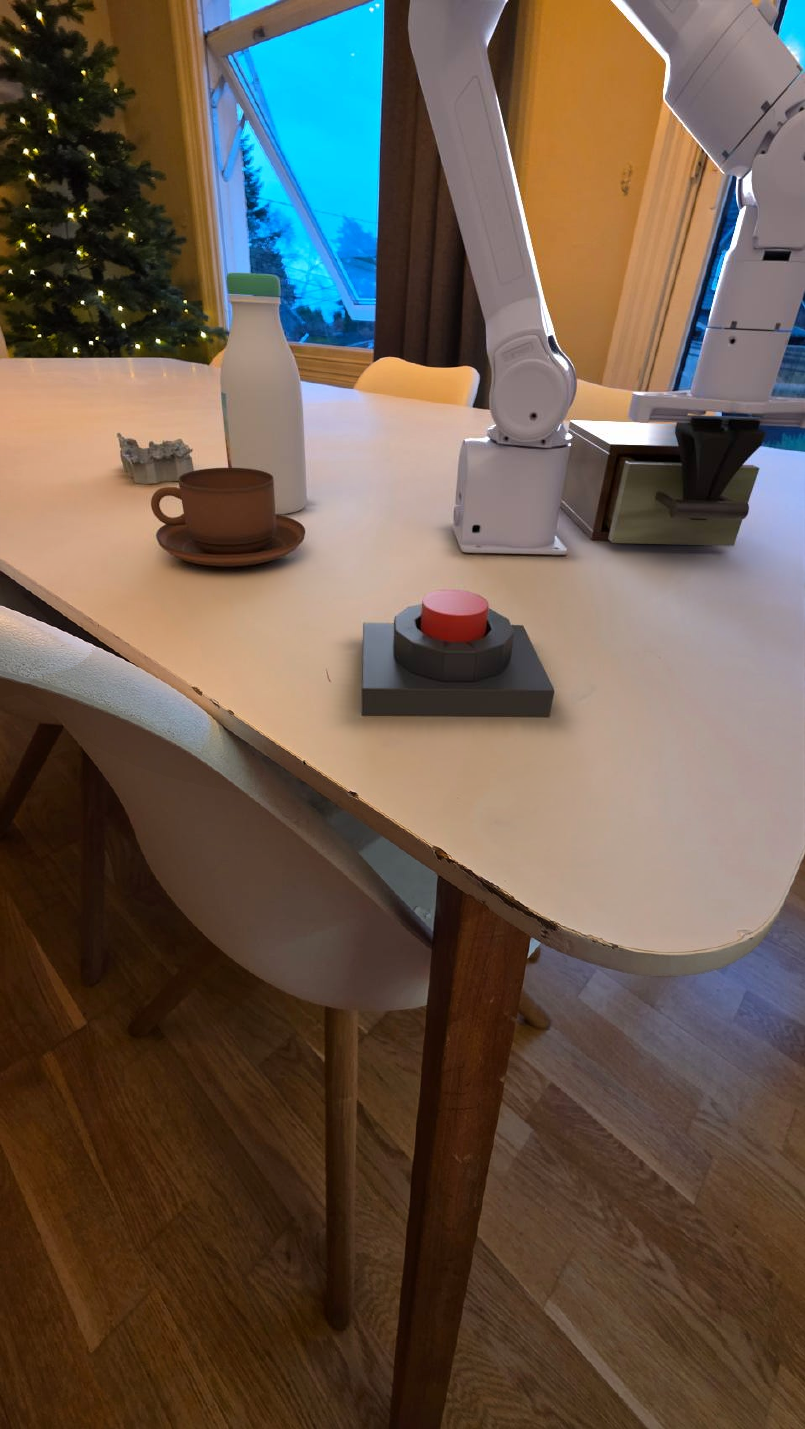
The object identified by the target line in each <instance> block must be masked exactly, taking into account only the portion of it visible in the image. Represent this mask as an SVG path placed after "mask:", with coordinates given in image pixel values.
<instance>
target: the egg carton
mask: <svg viewBox="0 0 805 1429" xmlns="http://www.w3.org/2000/svg"><path fill="white" fill-rule="evenodd" d="M116 437H117V438H118V443H119V448H120V450H119V454H120V460H121V464H122V467H123V470H124V471H125V472H127V474H128V476H130V477H131V478H133V480H134V484H144V485H150V484H151V485H152V484H154V485H155V484H156V485H158V484H159V483H163V482H170V481H171V482H174V481H175V482H176V481H177V482H178V478H179V477H180V476H181V475H183V474H185V473H188V472H191V471H195V468H194V463H193V457H192V456H191V455H190V454H191V453H193V450H194V449H193V448H191V447H189V445H188V444H185V442H184V441H183V439H181V438H178V439H175V440H162V442H161V443H154V441H153V440H150V441H149V442H148V447H145V448H144V447H143V448H142V447H140V445H139V444H138V442H137V440H136V439H135V438H132V437H131V438H130V437H129V438H125V437H124V436H122V434H121V432H118V433H116Z"/></svg>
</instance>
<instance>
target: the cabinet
mask: <svg viewBox="0 0 805 1429" xmlns="http://www.w3.org/2000/svg"><path fill="white" fill-rule="evenodd" d="M675 427H676V423H656V422H648V423H636V422H625V421H599V420H598V421H593V420H569V424H568V429H567V432H568V433H569V434H570V435H572V441H571V446H570V452H569V458H568V464H567V469H566V475H565V481H564V487H563V493H562V498H561V504H560V509H562V511H564V513H565V514H566V515H567V516H568V517H569V518H570V519H571V520H572V521H573V522H574V523H575V524H576V526H578V527H579V529H580V530H581V531H582V532H584V534H585V535H586V536H587V537H588V538H589V539H590V540H591V541H610V540H609V539H608V537H609V533H610V529H609V528H608V527H606V526H605V525H604V524H603V519H604V514H605V510H606V505H607V500H608V496H609V491H610V486H611V481H612V477H613V472H614V467H615V463H616V458H617V454H646V455H676V456H680V451H679V446H678V442H677V438H676V435H675Z"/></svg>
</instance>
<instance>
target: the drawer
mask: <svg viewBox="0 0 805 1429" xmlns="http://www.w3.org/2000/svg"><path fill="white" fill-rule="evenodd" d="M759 471H760V467H758V466H755V465H753V464H743V465H742V466H741V467H740V469H739V470H738V471H737V472H736V474H735V475H734V476H733V478H732V479H731V480H730V482H729V483H728V485H727V486H726V488H725V489H724V491H723V492H722V494H721V496H720V497H719V499H718V501H705V500H683V472H682V463H681V456H676V455H646V454H617V458H616V463H615V467H614V472H613V477H612V481H611V486H610V491H609V496H608V500H607V505H606V510H605V514H604V519H603V524H604V525H605V526H606V527H608V528H609V529H610V533H609V537H608V539H609V540H608V541H609V542H611V543H612V544H636V545H637V544H638V545H639V544H640V545H642V544H643V545H678V546H679V545H681V546H682V545H683V546H719V547H720V546H724V547H734V546H735V543H736V541H737V537H738V534H739V531H740V528H741V525H742V522H743V520H745V519H746V518H747V516H748V515H749V512H750V511H749V510H750V505H749V501H750V498H751V496H752V492H753V490H754V487H755V483H756V481H757V478H758V475H759ZM689 518H700V519H707V520H690V519H689Z"/></svg>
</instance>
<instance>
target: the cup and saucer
mask: <svg viewBox="0 0 805 1429" xmlns="http://www.w3.org/2000/svg"><path fill="white" fill-rule="evenodd" d="M177 482H178V487H176V486H175V487H174V486H165V487H161V488H159V489H157V490H156V491H155V492H154V493H153V495H152V496H151V499H150V507H151V511H152V513H153V515H154V516H155V518H156V519H157V520H158V521H160V522H161V523H163V525H162V526H161V527H160V528H159V529H158V530H157V531H156V534H155V538H156V540H157V543H158V545H159V546H160V548H161V549H163V550H164V551H166V552H167V553H168V554H170V555H171V556H173V557H175V558H177V559H179V560H182V561H185V562H189V563H193V564H197V565H202V566H210V567H211V566H212V567H242V566H243V567H244V566H253V565H258V564H263V563H268V562H272V561H276V560H278V559H280V558H283V557H285V556H287V555H288V554H291V553H292V552H294V551H295V550H296V549H297V548H298V547H299V546H300V545H301V544H302V543H303V541H304V540H305V537H306V528H305V526H304V525H303V524H302V523H301V522H299V521H298V520H296V519H294V518H292V517H288V516H286V515H283V514H276V513H275V495H274V479H273V476H272V475H271V474H269V473H267V472H264V471H260V470H255V469H247V468H228V467H210V468H202V469H197V470H194V471H191V472H188V473H185V474H183V475H181V476H180V477H179V478H178V481H177ZM165 497H174V498H176V499H179V500H181V505H182V512H183V513H182V514H180V515H179V516H173V517H171V516H169V515H166V514H164V512H163V511H162V509H161V506H160V504H161V503H160V502H161V500H163V498H165Z"/></svg>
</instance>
